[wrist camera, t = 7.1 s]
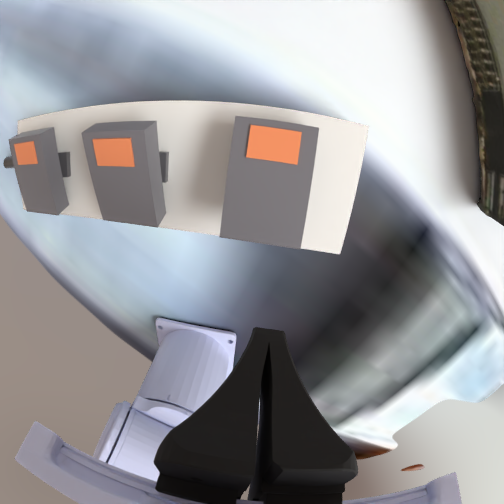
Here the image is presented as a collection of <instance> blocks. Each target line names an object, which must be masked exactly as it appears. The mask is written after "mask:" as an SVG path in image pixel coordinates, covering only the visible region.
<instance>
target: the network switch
mask: <svg viewBox="0 0 504 504" xmlns="http://www.w3.org/2000/svg"><path fill="white" fill-rule="evenodd" d="M445 1H446V3H447V5H448V8H449V10H450V13H451V15H452V20H453V23H455V26H456V28H457V33H458V37H459V39H460V42H461V46H462V50H463V56H464V58H465V62H466V67H467V69H468V71H469V77H470V81H471V84H472V89H473V92H474V98H472V100H473V103H474V104H475V108H476V115H477V120H476V121H477V130H478V137H479V157H480V163H481V168H480V170H481V173H480V177H481V200H480V198H479V202H478V203H477V205H478V207H479V208H480V210H481V211H482V212H484V213H485V214H486V215H487V216H489V217H491V218H493V219H494V220H496V221H497V222H499V223H500V224H501V225H503V226H504V0H451V1H450V0H445ZM458 20H459V23H460V27H459V26H458Z"/></svg>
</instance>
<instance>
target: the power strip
mask: <svg viewBox="0 0 504 504" xmlns="http://www.w3.org/2000/svg"><path fill="white" fill-rule="evenodd" d="M235 116H243V117H252V118H261V119H269V120H276V121H283V122H290V123H296V124H302V125H307V126H313V127H318V128H319V133H318V141H317V149H316V156H315V163H314V170H313V177H312V183H311V190H310V196H309V203H308V209H307V215H306V221H305V226H304V232H303V238H302V243H301V248H303V249H310V250H316V251H322V252H329V253H335V254H340V252H341V249H342V245H343V242H344V238H345V234H346V230H347V226H348V223H349V219H350V215H351V211H352V206H353V202H354V198H355V194H356V189H357V185H358V180H359V176H360V171H361V166H362V161H363V156H364V151H365V145H366V140H367V134H368V128H369V126H366V125H362V124H359V123H355V122H351V121H346V120H342V119H338V118H333V117H329V116H324V115H319V114H314V113H308V112H303V111H297V110H291V109H284V108H277V107H270V106H262V105H252V104H242V103H230V102H213V101H143V102H127V103H115V104H105V105H97V106H89V107H82V108H75V109H69V110H64V111H58V112H53V113H48V114H44V115H39V116H35V117H31V118H27V119H23V120H19V121H18V134H20V133H22V132H27V131H32V130H38V129H43V128H49V127H54V130H55V137H56V144H57V150H58V156H59V161H60V166H61V171H62V176H63V181H64V185H65V190H66V194H67V198H68V202H69V206H68V207H66V208H65V209H64V210H63V211H62V212H61V213H60V214H64V215H72V216H79V217H87V218H95V219H102V220H103V218H102V214H101V211H100V208H99V204H98V201H97V197H96V194H95V190H94V187H93V183H92V179H91V175H90V171H89V167H88V162H87V158H86V153H85V149H84V144H83V139H82V134H81V133H82V132H83V131H85V130H86V129H88V128H89V127H91V126H92V125H94V124H95V123H106V122H123V121H157V133H158V145H159V156H160V166H161V175H162V184H163V192H164V200H165V207H166V214H165V216H164V218H163V220H162V221H161V223H160V225H159V226H158V227H161V228H168V229H175V230H182V231H189V232H196V233H203V234H210V235H217V236H220V228H221V219H222V211H223V203H224V194H225V187H226V179H227V171H228V164H229V157H230V149H231V142H232V136H233V129H234V122H235ZM4 167H5V168H14V164H13V159H12V156H10V157H6V158H5V160H4ZM22 202H23V209H24V210H26V207H25V204H24V201H23V198H22Z"/></svg>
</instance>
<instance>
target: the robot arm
mask: <svg viewBox="0 0 504 504" xmlns="http://www.w3.org/2000/svg"><path fill="white" fill-rule="evenodd" d="M155 324H156V331H157V338H158V344H159V349H158V351H157V353H156V356H155V358H154V360H153V362H152V364H151V366H150V368H149V370H148V373H147V375H146V377H145V379H144V381H143V383H142V386H141V388H140V390H139V392H138V394H137V397H136V398H135V400H134V402H133V404H132V405H131V407H130V403H128V402H127V401H124V402H123V403H117V404H116V406H115V407H114V409H113V411H112V413H111V416H110V418H109V420H108V422H107V424H106V426H105V428H104V431H103V433H102V435H101V437H100V440H99V442H98V444H97V447H96V449H95V452H94V454H93V456H94V457H92V456H90V455H88V454H86V453H84V452H82V451H80V450H78V449H76V448H74V447H73V446H71V445H69V444H67V443H65V442H64V441H63V440H62V439H61V438H60V437H59V436H58V435H57V434H56V433H54V432H53V431H51V430H50V429H48V428H46V427H45V426H43V425H41V424H40V423H38V422H37V421H35V422H34V423H33V425H32V427H31V429H30V430H29V432H28V434H27V436H26V438H25V439H24V442H23V443H22V445H21V447H20V449H19V451H18V453H17V455H16V457H15V460H16V461H17V462H18V463H20V464H21V465H22V466H23V467H25V468H26V469H27V470H29V471H30V472H31V473H33V474H34V475H36V476H37V477H38V478H40V479H41V480H43V481H44V482H45V483H47V484H48V485H50V486H51V487H53V488H54V489H56V490H57V491H59V492H61V493H62V494H64V495H65V496H67V497H69V498H71V499H72V500H74V501H76V502H77V503H79V504H462V503H461V497H460V491H459V485H458V480H457V475H456V473H455V472H454V473H451V474H448V475H445V476H442V477H439V478H437V479H435V480H433V481H431V482H429V483H428V484H427V485H423V486H420V487H416V488H412V489H408V490H404V491H400V492H395V493H391V494H386V495H381V496H375V497H369V498H362V499H355V500H346V501H342V493H343V492H344V491H345V483H347V482H348V481H350V480H352V479H353V478H354V477H355V476H356V475H357V474H358V466H357V461H356V457H355V454H354V451H353V450H352V449H351V448H350V447H349V446H348V445H347V444H346V443H345V442H344V441H343V440H342V439H341V438H340V437H339V436H338V435H337V434H336V432H335V431H334V430H333V429H332V428H331V427H330V425H329V424H328V423H327V421H326V420H325V419H324V417H323V416H322V415H321V413H320V412H319V410H318V409H317V407H316V406H315V404H314V403H313V401H312V399H311V398H310V396H309V394H308V393H307V391H306V389H305V387H304V385H303V383H302V381H301V379H300V377H299V374H298V372H297V370H296V367H295V365H294V362H293V360H292V357H291V354H290V351H289V348H288V344H287V340H286V336H285V333H284V331H279V330H272V329H265V328H258V327H255V328H253V332H252V335H251V338H250V340H249V343H248V345H247V347H246V349H245V351H244V352H243V354H242V356H241V358H240V360H239V361H238V363H237V364H236V366H235V367H234V369H233V361H234V353H235V344H236V334H235V333H233V332H229V331H223V330H218V329H212V328H207V327H202V326H196V325H191V324H187V323H182V322H177V321H173V320H168V319H164V318H157V319H156V321H155ZM161 326H162V327H161ZM230 340H232V341H230ZM259 398H260V420H259V431H258V438H257V426H258V411H259ZM256 444H257V445H256ZM249 485H250V489H249V494H248V500H240V498H241V495H242V494H243V492H244V491H246V490H247V488H248V486H249Z"/></svg>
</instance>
